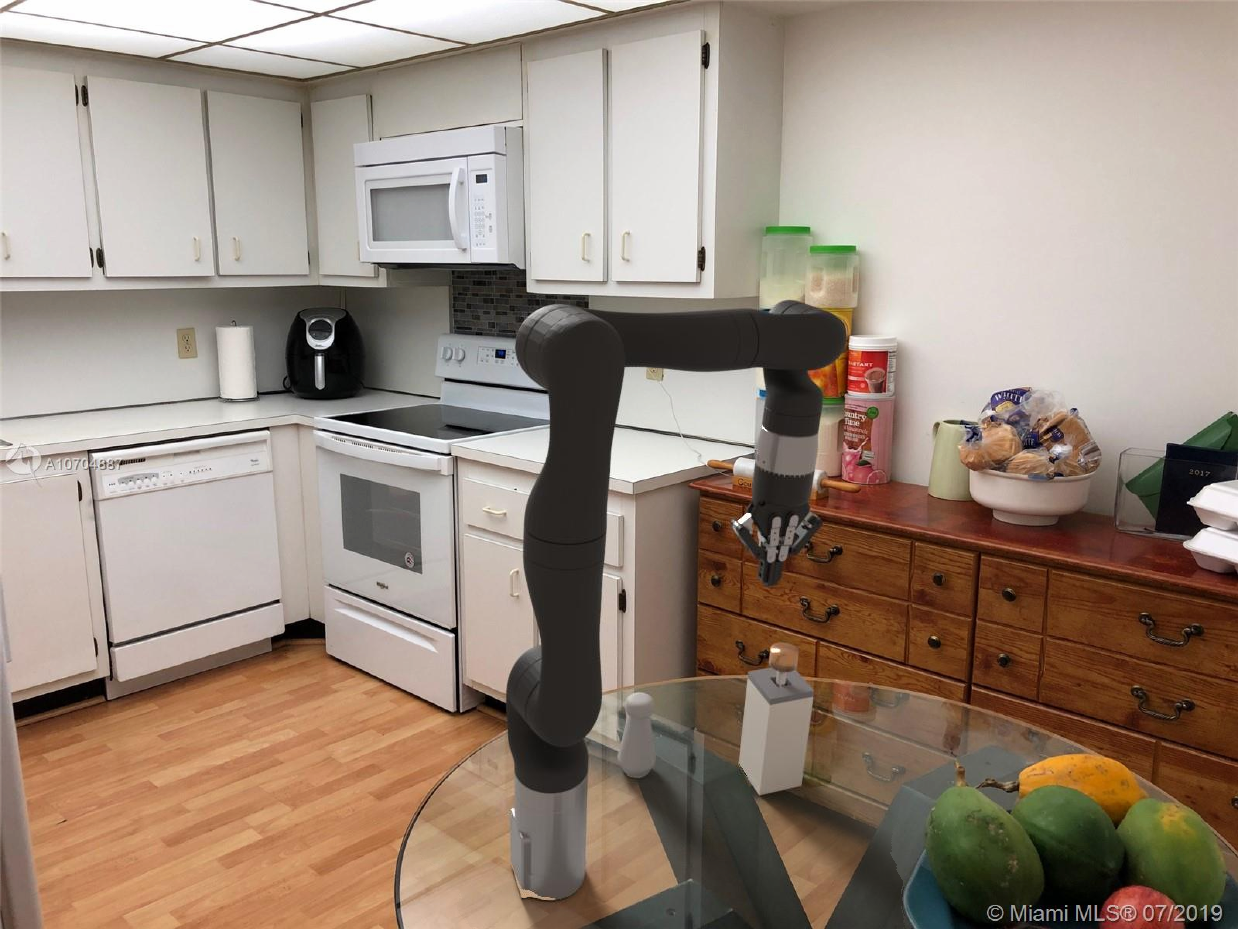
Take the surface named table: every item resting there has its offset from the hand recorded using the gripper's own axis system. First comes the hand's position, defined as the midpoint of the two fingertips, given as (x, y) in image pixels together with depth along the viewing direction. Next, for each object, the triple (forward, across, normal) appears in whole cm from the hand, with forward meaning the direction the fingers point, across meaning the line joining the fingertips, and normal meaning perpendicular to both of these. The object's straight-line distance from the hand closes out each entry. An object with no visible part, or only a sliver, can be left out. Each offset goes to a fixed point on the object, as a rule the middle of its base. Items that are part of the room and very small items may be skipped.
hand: (768, 583), depth 129 cm
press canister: (+36, +7, +4) cm, 37 cm away
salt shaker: (+36, -12, +11) cm, 40 cm away
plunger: (+31, +7, +4) cm, 32 cm away
